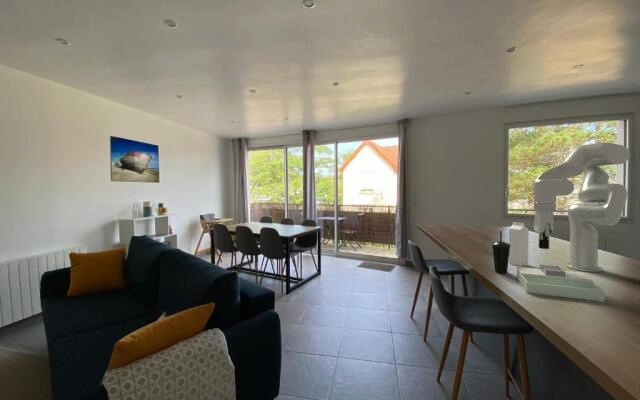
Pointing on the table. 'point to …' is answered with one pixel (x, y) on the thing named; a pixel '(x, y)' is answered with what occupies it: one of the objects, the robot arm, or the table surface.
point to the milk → (518, 244)
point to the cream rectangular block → (538, 273)
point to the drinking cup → (501, 255)
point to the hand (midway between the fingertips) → (543, 248)
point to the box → (563, 288)
